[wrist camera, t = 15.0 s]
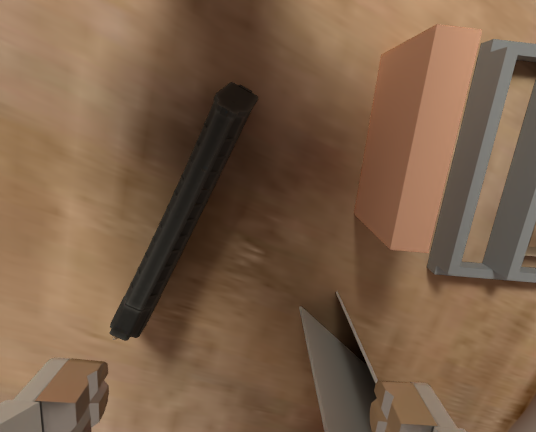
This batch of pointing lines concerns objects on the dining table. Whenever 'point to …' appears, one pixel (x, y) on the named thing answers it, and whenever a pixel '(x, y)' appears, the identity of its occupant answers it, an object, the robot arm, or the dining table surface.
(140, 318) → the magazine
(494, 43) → the rack
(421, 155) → the salmon brown rectangular block
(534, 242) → the upper offcut
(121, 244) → the dining table surface
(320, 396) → the brochure
